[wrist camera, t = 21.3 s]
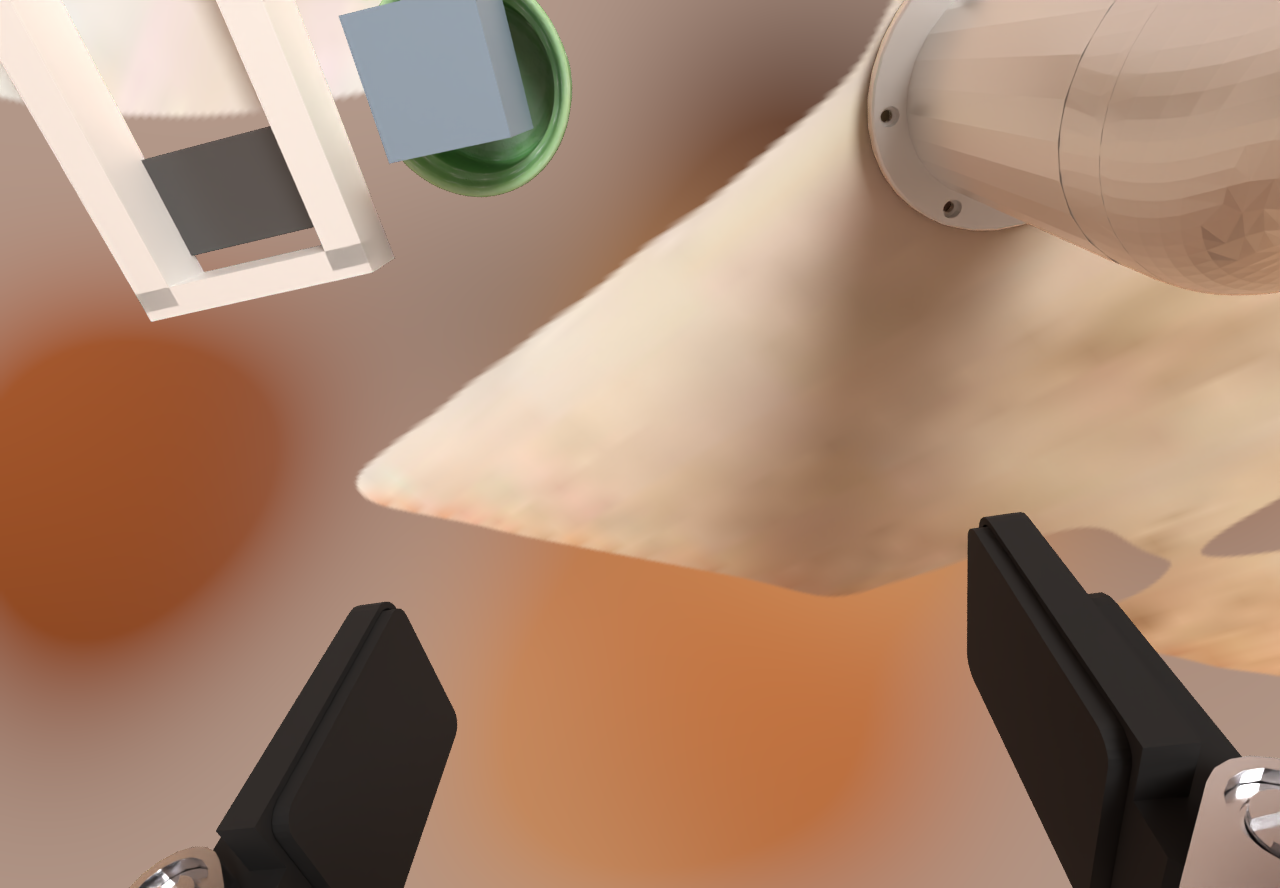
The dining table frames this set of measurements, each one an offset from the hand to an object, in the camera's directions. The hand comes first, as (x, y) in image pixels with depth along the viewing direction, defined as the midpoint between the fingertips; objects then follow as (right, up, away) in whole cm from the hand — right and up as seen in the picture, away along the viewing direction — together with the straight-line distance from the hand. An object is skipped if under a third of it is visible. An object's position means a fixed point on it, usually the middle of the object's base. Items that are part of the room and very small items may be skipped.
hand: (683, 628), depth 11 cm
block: (-8, +19, +18) cm, 27 cm away
